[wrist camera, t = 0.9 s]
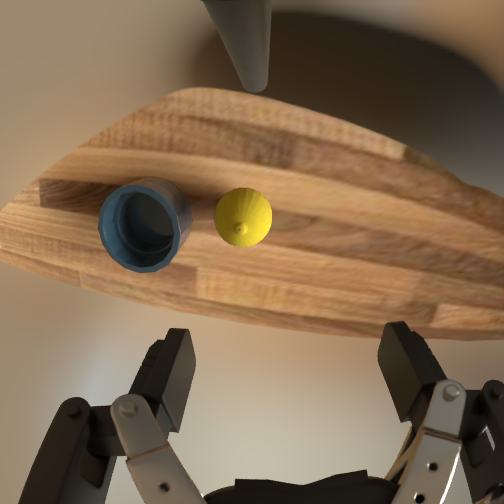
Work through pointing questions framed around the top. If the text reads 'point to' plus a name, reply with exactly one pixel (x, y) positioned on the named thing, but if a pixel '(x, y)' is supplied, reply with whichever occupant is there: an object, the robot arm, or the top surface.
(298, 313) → the top surface
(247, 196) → the lemon
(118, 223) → the bowl
